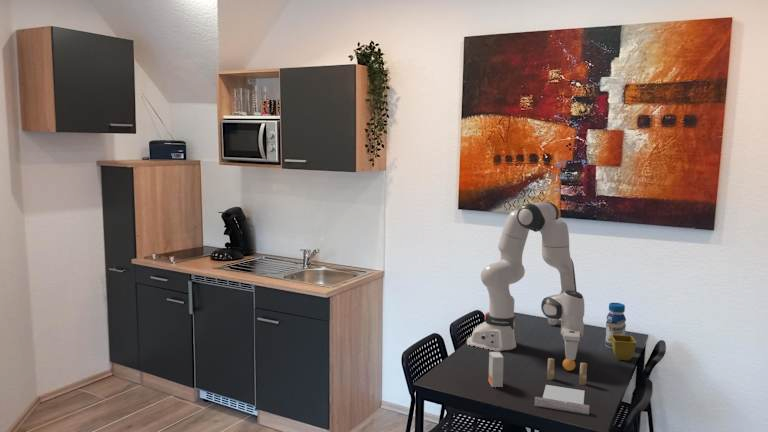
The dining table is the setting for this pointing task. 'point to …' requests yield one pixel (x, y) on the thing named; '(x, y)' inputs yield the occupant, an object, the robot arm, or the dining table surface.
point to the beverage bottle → (615, 322)
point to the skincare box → (496, 369)
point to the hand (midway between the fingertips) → (570, 362)
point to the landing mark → (564, 394)
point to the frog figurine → (552, 321)
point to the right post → (583, 373)
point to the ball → (568, 364)
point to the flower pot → (623, 346)
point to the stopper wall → (562, 405)
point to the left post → (550, 369)
